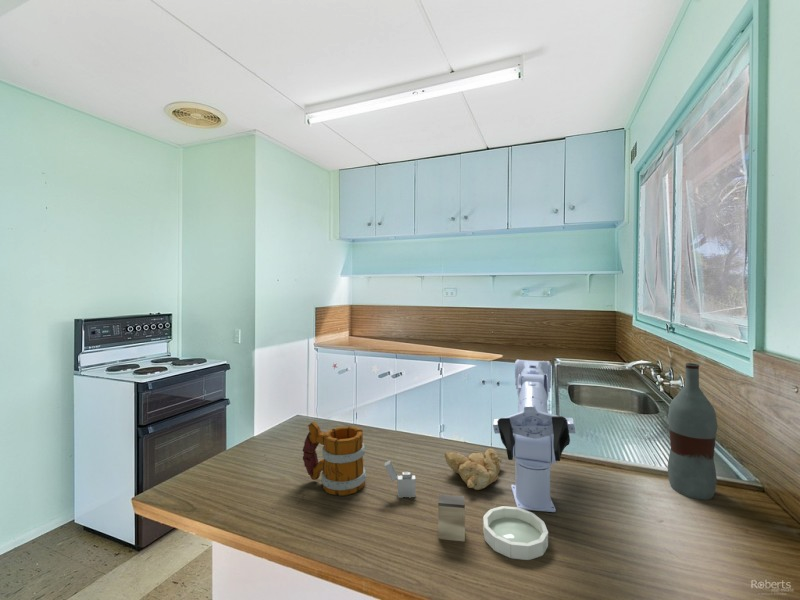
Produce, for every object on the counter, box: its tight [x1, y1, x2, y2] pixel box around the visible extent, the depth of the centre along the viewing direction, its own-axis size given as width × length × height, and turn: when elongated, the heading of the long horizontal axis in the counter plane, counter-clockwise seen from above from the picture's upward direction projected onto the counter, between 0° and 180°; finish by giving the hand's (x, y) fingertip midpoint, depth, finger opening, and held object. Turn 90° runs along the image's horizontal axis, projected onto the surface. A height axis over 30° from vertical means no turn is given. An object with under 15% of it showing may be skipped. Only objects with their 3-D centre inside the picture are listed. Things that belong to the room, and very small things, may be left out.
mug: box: [302, 421, 367, 497], centre depth 89 cm, size 11×16×15 cm, turn 78°
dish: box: [482, 505, 549, 561], centre depth 69 cm, size 12×12×2 cm
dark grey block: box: [437, 493, 466, 542], centre depth 70 cm, size 3×5×7 cm, turn 81°
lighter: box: [384, 460, 417, 499], centre depth 84 cm, size 7×2×8 cm, turn 91°
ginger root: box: [444, 448, 503, 491], centre depth 91 cm, size 16×16×8 cm
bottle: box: [667, 362, 718, 500], centre depth 85 cm, size 9×9×30 cm
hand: (532, 455), depth 61 cm, fingers open, 7 cm apart
